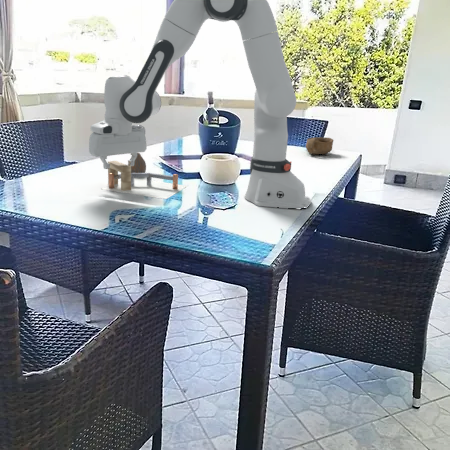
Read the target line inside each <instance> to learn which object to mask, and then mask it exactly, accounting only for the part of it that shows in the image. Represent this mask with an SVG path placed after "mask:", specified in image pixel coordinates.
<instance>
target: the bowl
mask: <svg viewBox="0 0 450 450" xmlns="http://www.w3.org/2000/svg"><path fill="white" fill-rule="evenodd" d="M334 141H335V140H334V138H331V137H321V136H319V137H315V136H314V137H309V138H307V139H306V143H305V148H306V150H307V152H308V153H309V154H310V155H319V154H322V155H326V154H328V153H330V152H331V151H332V150H333V144H334Z"/></svg>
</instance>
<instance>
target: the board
mask: <svg viewBox="0 0 450 450" xmlns="http://www.w3.org/2000/svg"><path fill="white" fill-rule="evenodd" d="M187 187H188V185H186V184H185V185H184V184H179V183H178V189H173V182H172V183H170V182H164V181H158V180H157V181H156V180H152V179H151V185H147V179H144V178H139V177H134V185H131V190H125V191H123V190H121V180H118V184H114V188H113V189H110V188H109V185H107V186H104V187H102V188H101V190H104V191H110V192H116V193H123V194H130V195H136V196H137V195H138V196H142V197H147V198H155V199H156V198H157V199H163V200H167V199H169V198H170V197H172V196H174V195H175V194H178V193H179V192H181V191H183V190H184V189H186V188H187Z"/></svg>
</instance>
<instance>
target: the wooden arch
mask: <svg viewBox="0 0 450 450" xmlns="http://www.w3.org/2000/svg"><path fill="white" fill-rule="evenodd" d="M107 163H109V164H110V169H107V176H108V177H107V178H108V179H107V183H108V185H109V173H114V175H118V174H119V173H120V174H121V179H120V181H121V190H123V191H125V190H131V166H128V164H125V163H123V162H120V161H118V160H110V161H107ZM118 181H119V179H114V184H118Z"/></svg>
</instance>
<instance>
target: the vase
mask: <svg viewBox="0 0 450 450" xmlns="http://www.w3.org/2000/svg"><path fill="white" fill-rule="evenodd" d="M127 165H128V164H127ZM128 166H129V165H128ZM146 170H147V163H146V161H145V159H144V158H143V157H142V154H141V152H139V153H137V157H136V159H135V161H134V166H131V173H147V172H146Z"/></svg>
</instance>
